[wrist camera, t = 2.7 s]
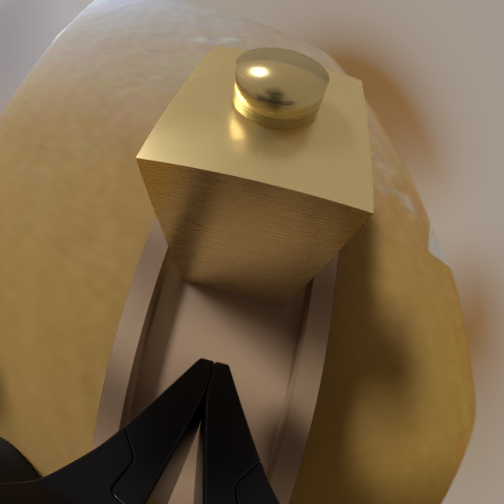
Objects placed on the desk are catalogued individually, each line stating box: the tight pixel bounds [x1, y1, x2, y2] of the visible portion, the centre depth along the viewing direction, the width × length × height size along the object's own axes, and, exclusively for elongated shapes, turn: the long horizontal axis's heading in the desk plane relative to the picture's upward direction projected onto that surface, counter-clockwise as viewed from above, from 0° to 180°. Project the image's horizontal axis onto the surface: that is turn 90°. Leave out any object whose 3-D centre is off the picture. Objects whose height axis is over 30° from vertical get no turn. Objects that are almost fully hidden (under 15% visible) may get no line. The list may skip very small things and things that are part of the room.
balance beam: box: [92, 216, 339, 504], centre depth 13 cm, size 22×9×6 cm, turn 168°
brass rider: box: [136, 46, 374, 305], centre depth 9 cm, size 5×5×9 cm
